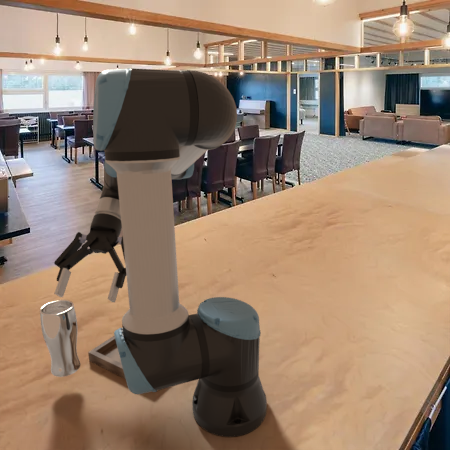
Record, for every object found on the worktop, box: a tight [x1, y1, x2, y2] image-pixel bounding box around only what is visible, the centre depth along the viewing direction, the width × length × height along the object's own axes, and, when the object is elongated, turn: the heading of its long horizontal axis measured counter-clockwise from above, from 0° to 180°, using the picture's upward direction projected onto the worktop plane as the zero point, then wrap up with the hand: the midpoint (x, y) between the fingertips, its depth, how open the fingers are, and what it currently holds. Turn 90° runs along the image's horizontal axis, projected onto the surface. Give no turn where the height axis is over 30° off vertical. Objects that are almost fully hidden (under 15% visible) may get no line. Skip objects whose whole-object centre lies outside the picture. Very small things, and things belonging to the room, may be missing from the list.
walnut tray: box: [87, 335, 125, 379], centre depth 98 cm, size 20×20×2 cm
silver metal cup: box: [39, 299, 81, 378], centre depth 84 cm, size 7×7×15 cm
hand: (84, 298), depth 92 cm, fingers open, 13 cm apart
